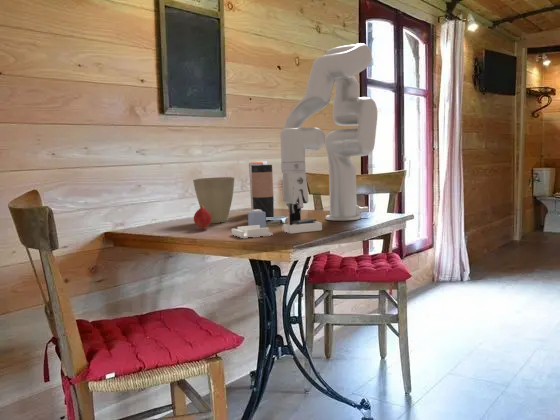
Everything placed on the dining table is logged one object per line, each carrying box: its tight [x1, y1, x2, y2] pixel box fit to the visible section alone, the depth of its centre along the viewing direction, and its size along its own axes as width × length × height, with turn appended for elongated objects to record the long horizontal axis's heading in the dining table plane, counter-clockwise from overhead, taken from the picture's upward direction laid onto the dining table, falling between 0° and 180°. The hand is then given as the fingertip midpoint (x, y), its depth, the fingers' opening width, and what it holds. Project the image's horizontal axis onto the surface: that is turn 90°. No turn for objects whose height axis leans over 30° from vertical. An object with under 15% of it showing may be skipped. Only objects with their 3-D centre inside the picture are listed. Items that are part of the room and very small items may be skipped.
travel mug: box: [252, 164, 275, 217], centre depth 210 cm, size 8×8×20 cm
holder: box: [231, 225, 274, 239], centre depth 174 cm, size 10×8×2 cm
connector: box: [247, 209, 267, 228], centre depth 185 cm, size 4×5×7 cm
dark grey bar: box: [292, 217, 317, 225], centre depth 182 cm, size 9×3×3 cm, turn 136°
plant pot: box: [192, 176, 235, 224], centre depth 210 cm, size 15×15×16 cm
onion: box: [193, 206, 212, 231], centre depth 191 cm, size 6×6×8 cm
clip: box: [283, 220, 323, 234], centre depth 180 cm, size 11×4×2 cm, turn 114°
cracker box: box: [248, 160, 268, 210], centre depth 231 cm, size 14×6×21 cm, turn 174°
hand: (295, 225), depth 184 cm, fingers closed
